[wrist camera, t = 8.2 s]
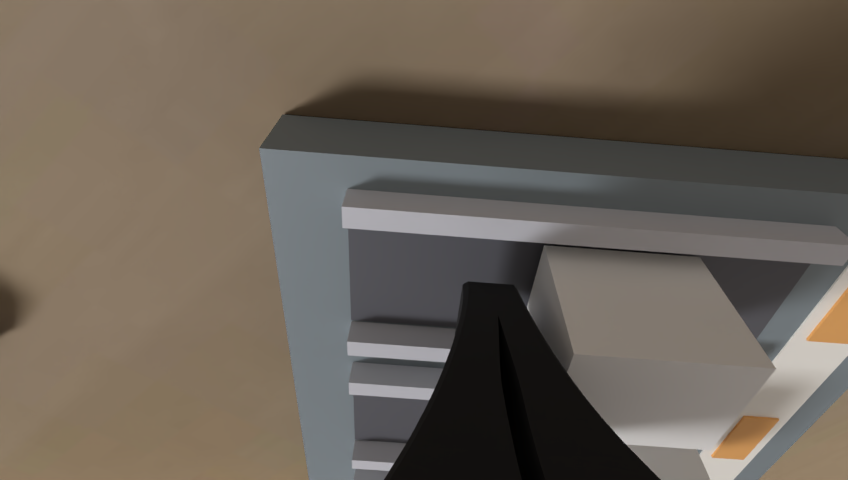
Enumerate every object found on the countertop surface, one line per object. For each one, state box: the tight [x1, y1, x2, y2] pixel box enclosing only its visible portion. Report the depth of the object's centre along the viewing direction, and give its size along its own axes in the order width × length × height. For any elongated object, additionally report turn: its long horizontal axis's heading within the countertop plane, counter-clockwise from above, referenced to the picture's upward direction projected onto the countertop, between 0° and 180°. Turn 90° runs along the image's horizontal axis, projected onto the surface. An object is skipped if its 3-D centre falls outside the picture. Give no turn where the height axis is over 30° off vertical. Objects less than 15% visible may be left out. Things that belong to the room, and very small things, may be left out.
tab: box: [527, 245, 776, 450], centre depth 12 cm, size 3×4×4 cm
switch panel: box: [259, 115, 848, 480], centre depth 18 cm, size 20×18×3 cm
